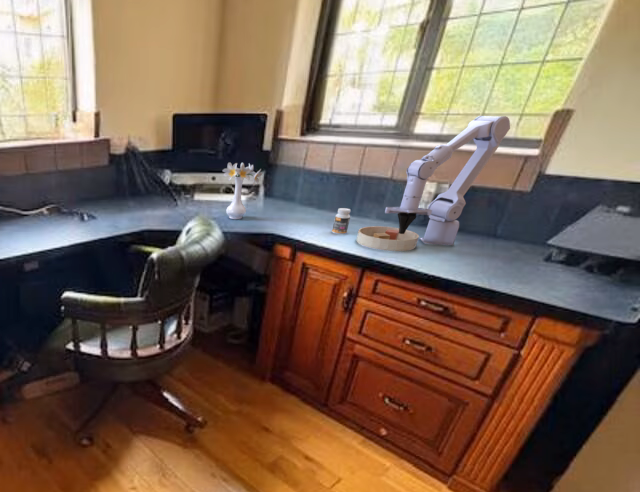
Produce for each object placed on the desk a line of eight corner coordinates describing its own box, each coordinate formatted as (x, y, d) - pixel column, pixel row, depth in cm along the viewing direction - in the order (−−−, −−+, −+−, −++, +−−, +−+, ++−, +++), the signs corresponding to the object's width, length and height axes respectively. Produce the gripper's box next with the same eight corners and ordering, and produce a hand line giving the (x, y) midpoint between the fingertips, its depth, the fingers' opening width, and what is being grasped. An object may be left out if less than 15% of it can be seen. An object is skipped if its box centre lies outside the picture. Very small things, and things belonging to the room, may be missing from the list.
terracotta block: (396, 240, 164) (399, 230, 162) (394, 243, 161) (397, 232, 159) (384, 239, 166) (387, 229, 164) (382, 241, 163) (385, 231, 161)
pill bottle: (331, 234, 176) (336, 210, 171) (332, 230, 180) (337, 207, 175) (345, 235, 173) (351, 211, 169) (346, 232, 178) (352, 208, 173)
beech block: (382, 243, 161) (385, 232, 159) (387, 246, 158) (390, 235, 156) (371, 243, 162) (374, 232, 160) (376, 246, 158) (379, 235, 156)
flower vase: (252, 222, 195) (259, 165, 183) (214, 219, 203) (218, 163, 191) (259, 216, 205) (266, 161, 193) (222, 213, 213) (226, 160, 201)
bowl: (408, 239, 167) (411, 227, 165) (421, 254, 151) (425, 242, 148) (352, 235, 173) (355, 225, 171) (359, 250, 156) (362, 238, 154)
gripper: (392, 197, 150) (381, 234, 157) (439, 199, 146) (426, 237, 153) (388, 193, 156) (378, 230, 163) (433, 195, 152) (421, 232, 159)
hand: (401, 233), depth 158 cm, fingers closed
